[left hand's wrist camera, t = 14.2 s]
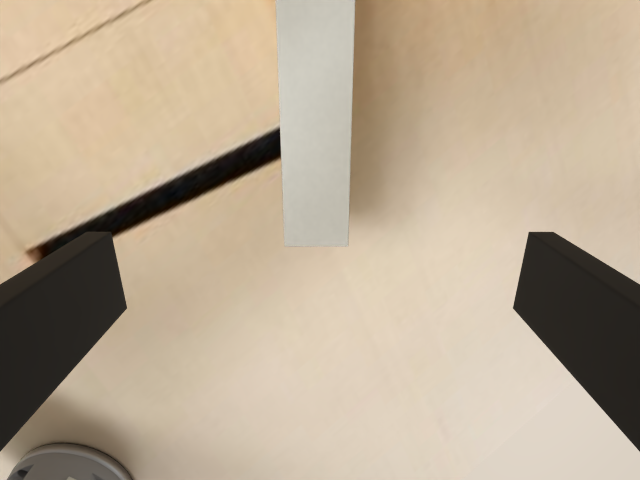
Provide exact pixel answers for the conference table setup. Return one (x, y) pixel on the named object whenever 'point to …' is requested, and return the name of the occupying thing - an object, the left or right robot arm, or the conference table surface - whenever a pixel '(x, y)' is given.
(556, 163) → the conference table surface
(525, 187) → the conference table surface
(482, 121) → the conference table surface
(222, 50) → the conference table surface
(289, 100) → the beam
